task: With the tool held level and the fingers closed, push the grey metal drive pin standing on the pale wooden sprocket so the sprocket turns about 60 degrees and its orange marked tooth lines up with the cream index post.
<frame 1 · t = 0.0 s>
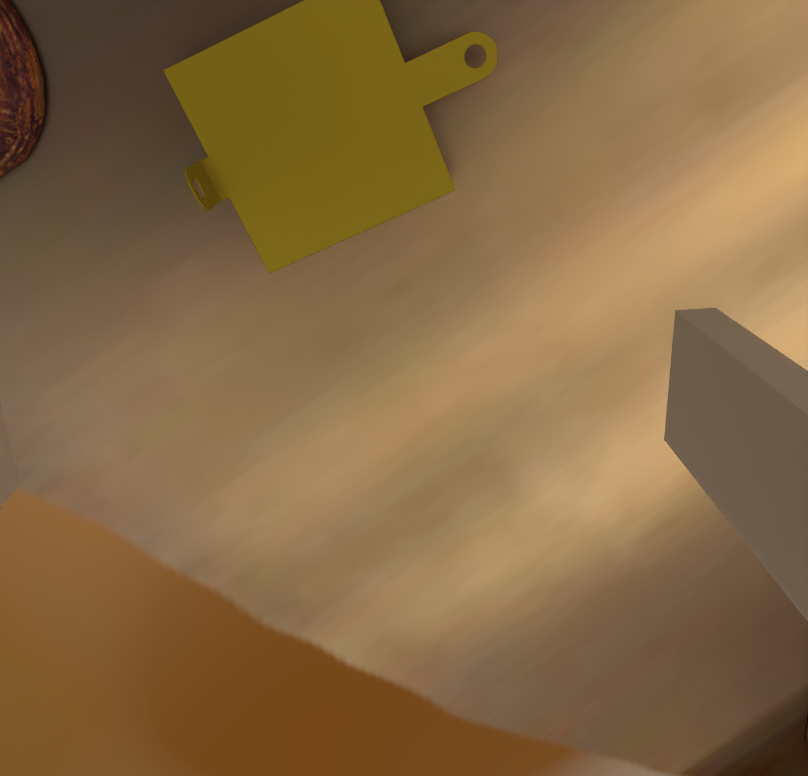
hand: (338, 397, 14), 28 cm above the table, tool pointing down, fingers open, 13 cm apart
bracket: (351, 112, 39), on the table
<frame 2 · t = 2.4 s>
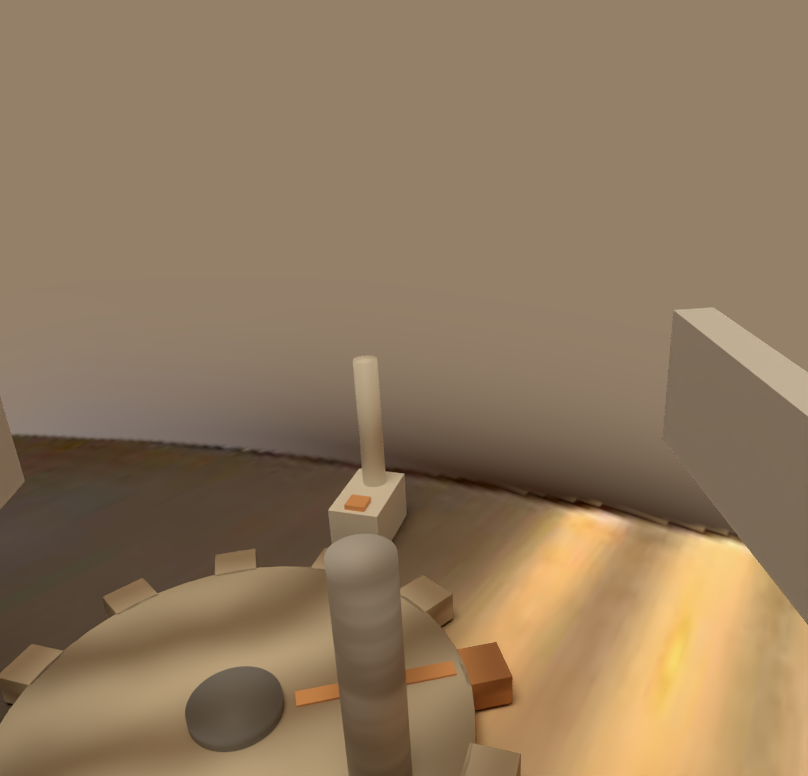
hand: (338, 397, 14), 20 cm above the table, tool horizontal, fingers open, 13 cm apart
index post: (371, 533, 46), on the table
sprocket: (221, 632, 30), point 6 cm above the table, hinge at 0.0°
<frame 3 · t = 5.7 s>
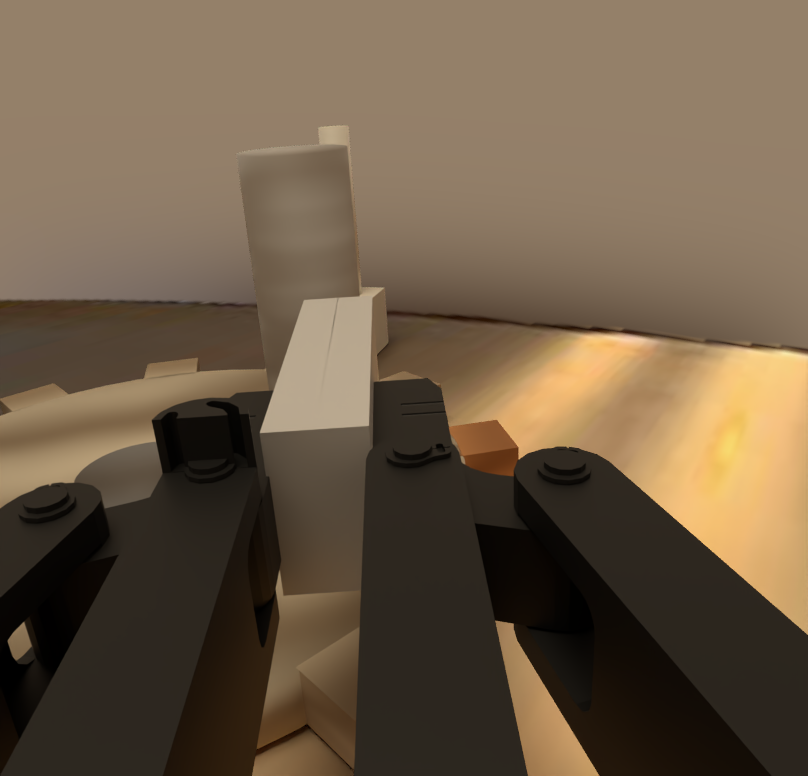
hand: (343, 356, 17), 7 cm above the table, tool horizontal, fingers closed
index post: (344, 357, 38), on the table
sprocket: (118, 359, 22), point 6 cm above the table, hinge at 0.1°, touching gripper
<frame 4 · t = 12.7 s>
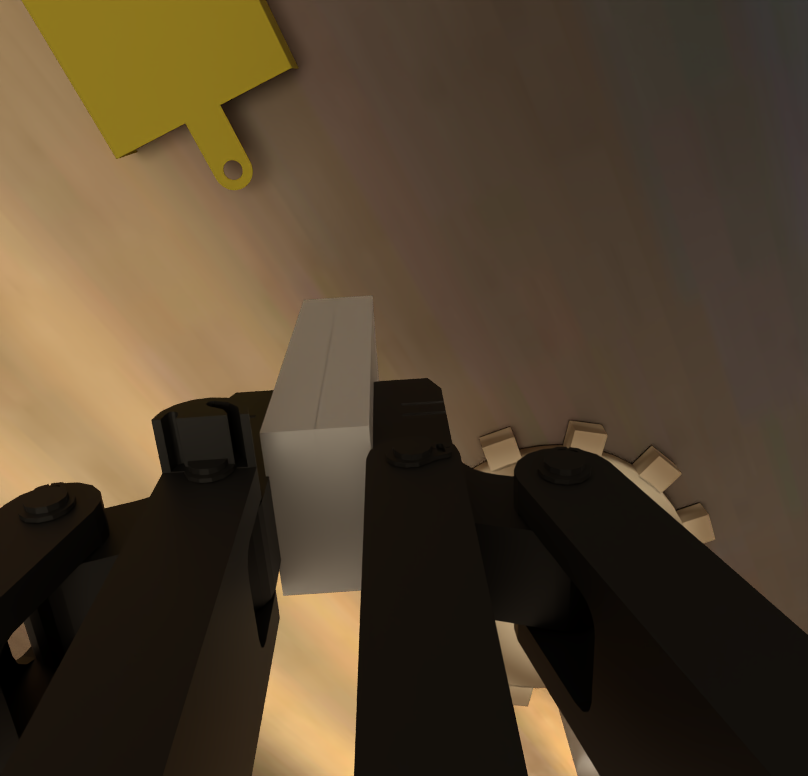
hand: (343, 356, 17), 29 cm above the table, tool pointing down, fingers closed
sprocket: (563, 620, 49), point 6 cm above the table, hinge at 62.6°
bracket: (187, 51, 41), on the table
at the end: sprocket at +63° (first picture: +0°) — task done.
